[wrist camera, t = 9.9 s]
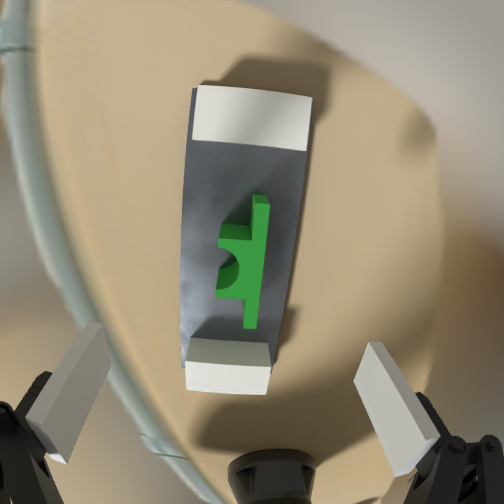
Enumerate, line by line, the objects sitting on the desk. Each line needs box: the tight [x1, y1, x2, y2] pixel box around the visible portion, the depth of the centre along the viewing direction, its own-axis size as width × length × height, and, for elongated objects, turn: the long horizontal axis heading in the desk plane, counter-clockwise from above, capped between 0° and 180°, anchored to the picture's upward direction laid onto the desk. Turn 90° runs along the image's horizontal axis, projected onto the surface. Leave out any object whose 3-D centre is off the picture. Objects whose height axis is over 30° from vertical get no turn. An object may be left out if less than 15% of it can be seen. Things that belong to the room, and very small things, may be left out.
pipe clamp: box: [215, 194, 270, 329], centre depth 24 cm, size 10×4×4 cm, turn 175°
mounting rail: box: [180, 85, 313, 395], centre depth 25 cm, size 28×10×5 cm, turn 174°
